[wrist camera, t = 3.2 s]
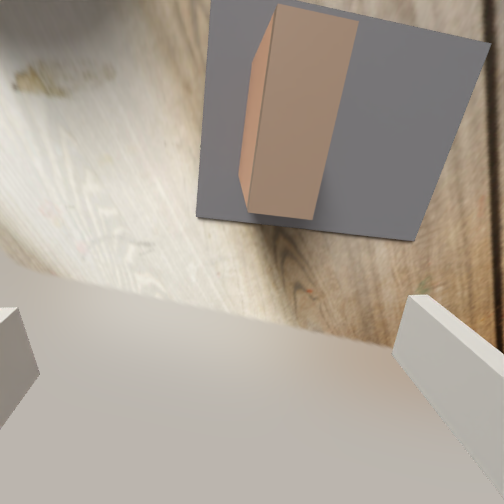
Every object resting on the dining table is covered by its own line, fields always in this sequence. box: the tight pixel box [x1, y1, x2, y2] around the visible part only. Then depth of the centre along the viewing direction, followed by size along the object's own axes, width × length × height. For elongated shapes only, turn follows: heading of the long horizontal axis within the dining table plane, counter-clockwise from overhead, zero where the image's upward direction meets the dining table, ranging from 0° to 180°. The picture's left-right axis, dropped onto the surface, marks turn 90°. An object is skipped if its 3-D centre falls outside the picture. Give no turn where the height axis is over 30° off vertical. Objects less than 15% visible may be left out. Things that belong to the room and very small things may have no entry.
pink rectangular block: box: [238, 4, 359, 220], centre depth 22 cm, size 10×4×14 cm, turn 172°
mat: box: [196, 0, 491, 241], centre depth 30 cm, size 20×26×1 cm
